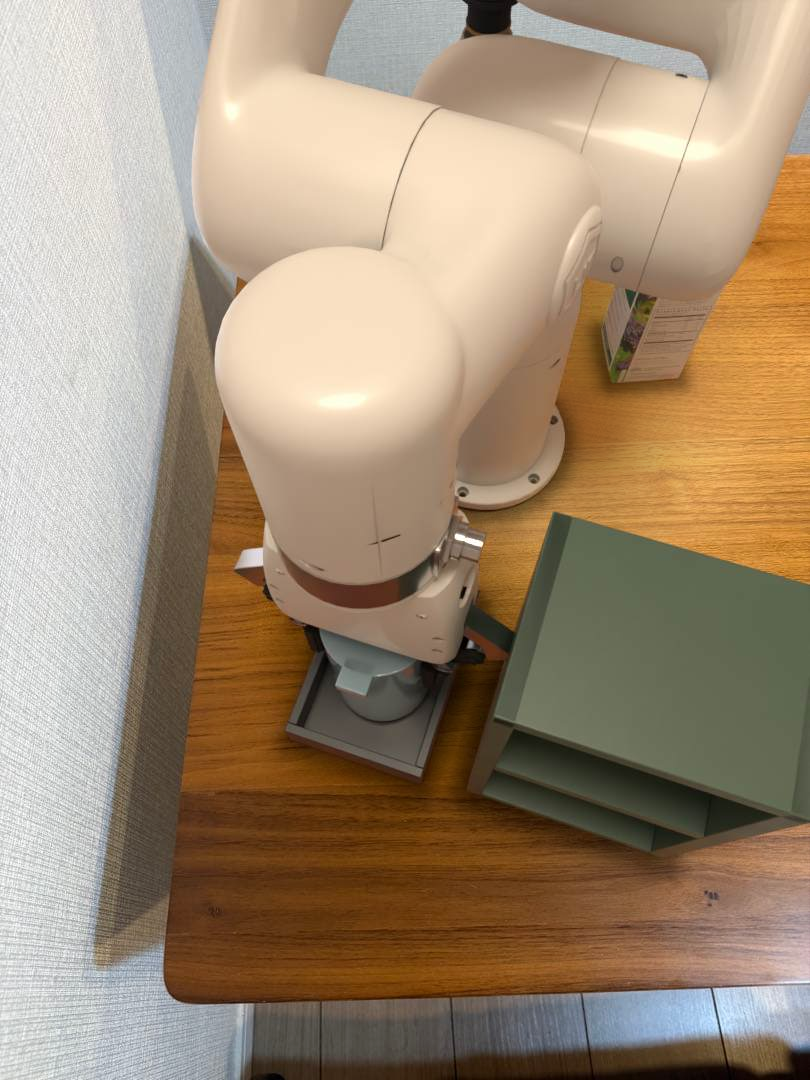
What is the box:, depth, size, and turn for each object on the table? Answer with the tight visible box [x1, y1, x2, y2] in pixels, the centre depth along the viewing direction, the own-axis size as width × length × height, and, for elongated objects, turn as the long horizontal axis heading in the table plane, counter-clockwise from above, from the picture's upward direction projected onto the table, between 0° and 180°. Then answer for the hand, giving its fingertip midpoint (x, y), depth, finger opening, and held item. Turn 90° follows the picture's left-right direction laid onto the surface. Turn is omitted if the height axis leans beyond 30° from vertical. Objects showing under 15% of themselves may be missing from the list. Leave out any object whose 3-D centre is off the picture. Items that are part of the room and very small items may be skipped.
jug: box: [319, 628, 428, 721], centre depth 51 cm, size 10×6×11 cm, turn 161°
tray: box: [284, 589, 482, 786], centre depth 56 cm, size 13×9×3 cm
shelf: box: [465, 511, 810, 859], centre depth 45 cm, size 10×13×22 cm
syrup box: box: [600, 217, 725, 384], centre depth 62 cm, size 6×6×14 cm
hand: (380, 646), depth 50 cm, fingers closed on jug, 6 cm apart
